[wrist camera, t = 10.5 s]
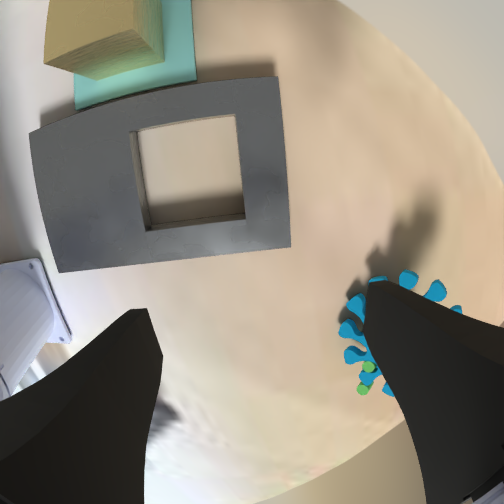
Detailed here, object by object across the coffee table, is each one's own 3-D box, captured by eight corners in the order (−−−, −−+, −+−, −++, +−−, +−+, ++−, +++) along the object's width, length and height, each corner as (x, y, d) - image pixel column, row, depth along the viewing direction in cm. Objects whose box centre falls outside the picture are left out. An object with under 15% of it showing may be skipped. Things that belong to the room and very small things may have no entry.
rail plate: (67, 264, 18) (59, 273, 17) (40, 132, 14) (28, 133, 13) (286, 239, 18) (291, 247, 17) (274, 81, 15) (277, 76, 13)
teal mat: (78, 110, 14) (75, 110, 14) (78, 12, 11) (76, 10, 11) (196, 80, 14) (196, 79, 14) (190, -20, 11) (189, -23, 11)
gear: (382, 243, 17) (493, 332, 12) (399, 235, 22) (486, 304, 17) (307, 355, 22) (393, 428, 18) (337, 330, 27) (410, 390, 22)
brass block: (96, 81, 13) (43, 63, 8) (96, 23, 12) (51, -9, 6) (164, 62, 13) (133, 28, 8) (162, 3, 12) (135, -43, 6)
